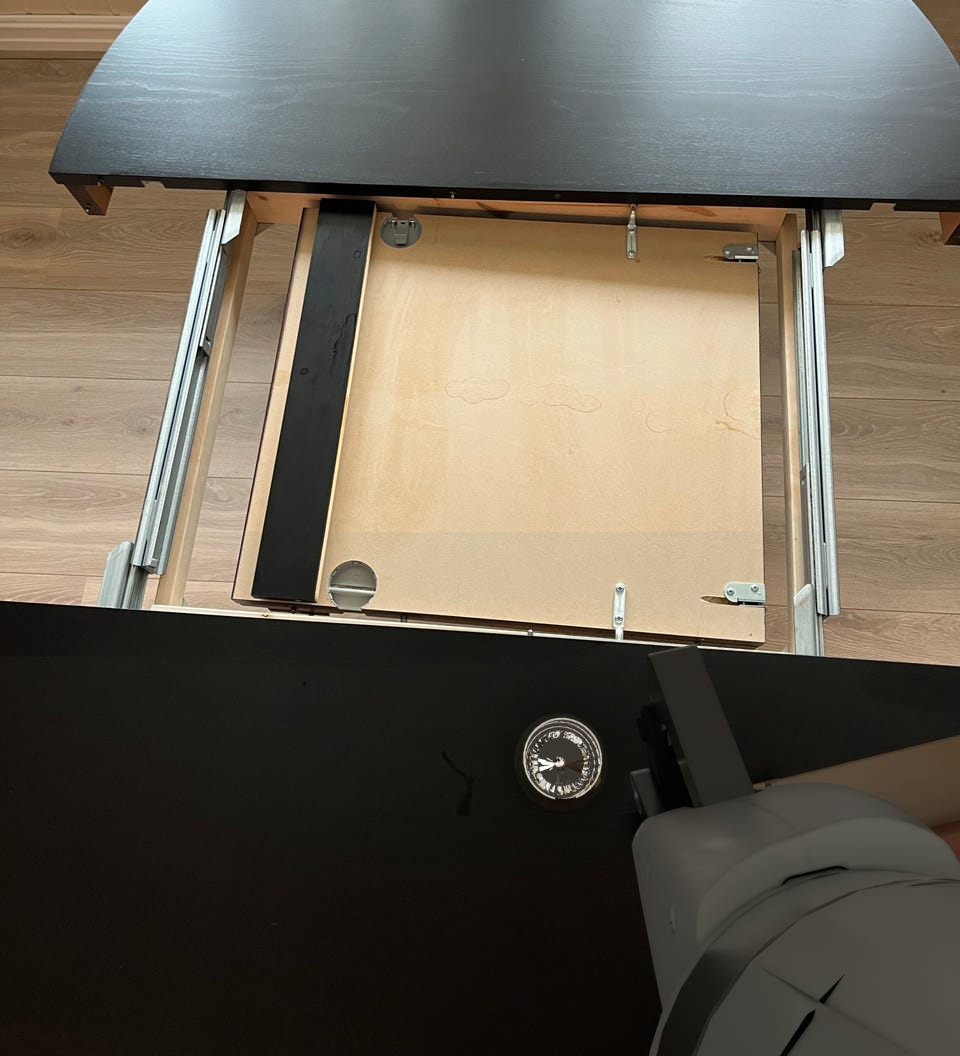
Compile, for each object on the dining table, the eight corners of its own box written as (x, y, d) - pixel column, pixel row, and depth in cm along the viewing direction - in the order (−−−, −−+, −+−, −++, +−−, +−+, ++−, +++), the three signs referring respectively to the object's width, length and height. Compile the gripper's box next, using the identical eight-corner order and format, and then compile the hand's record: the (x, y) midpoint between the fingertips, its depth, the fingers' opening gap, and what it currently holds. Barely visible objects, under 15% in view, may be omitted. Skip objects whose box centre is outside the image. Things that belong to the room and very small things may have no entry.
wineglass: (502, 743, 74) (499, 729, 63) (578, 712, 75) (588, 693, 64) (533, 825, 72) (535, 826, 61) (610, 793, 73) (627, 788, 62)
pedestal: (829, 925, 69) (1203, 1051, 31) (681, 962, 69) (879, 1136, 31) (780, 769, 73) (1062, 710, 35) (639, 803, 73) (769, 781, 34)
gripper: (1541, 2013, 12) (950, 1324, 28) (958, 516, 18) (752, 662, 34) (879, 2201, 11) (670, 1394, 27) (521, 612, 17) (522, 713, 33)
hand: (715, 989), depth 30 cm, fingers open, 9 cm apart
